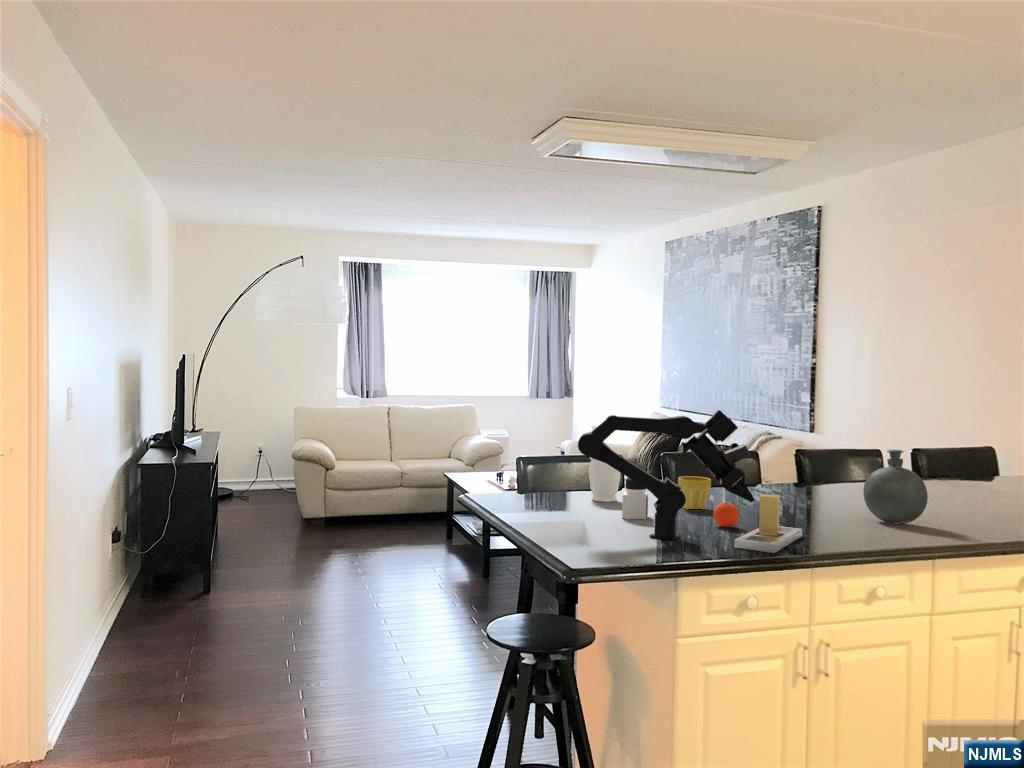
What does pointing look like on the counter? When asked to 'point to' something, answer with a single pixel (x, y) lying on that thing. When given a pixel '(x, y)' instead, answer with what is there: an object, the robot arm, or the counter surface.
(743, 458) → the robot arm
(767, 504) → the yellow tall block
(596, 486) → the jar
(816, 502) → the counter surface
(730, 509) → the tomato
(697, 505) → the plant pot
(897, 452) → the flask
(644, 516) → the medicine bottle
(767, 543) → the white compartment tray
